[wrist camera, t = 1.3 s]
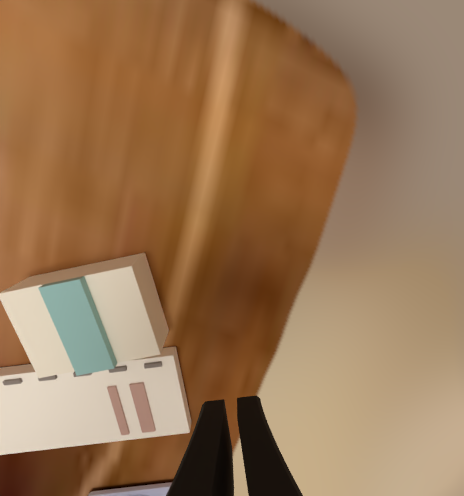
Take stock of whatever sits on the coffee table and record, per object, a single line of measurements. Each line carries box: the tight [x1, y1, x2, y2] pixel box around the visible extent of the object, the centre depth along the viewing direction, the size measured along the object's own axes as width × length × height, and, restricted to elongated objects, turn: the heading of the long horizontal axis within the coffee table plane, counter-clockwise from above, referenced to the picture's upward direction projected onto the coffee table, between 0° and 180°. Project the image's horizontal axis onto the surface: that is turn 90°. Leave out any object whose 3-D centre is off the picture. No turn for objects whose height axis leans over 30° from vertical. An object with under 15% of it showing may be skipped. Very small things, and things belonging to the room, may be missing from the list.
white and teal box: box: [0, 253, 169, 378], centre depth 17 cm, size 6×8×4 cm
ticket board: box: [0, 347, 191, 455], centre depth 20 cm, size 7×18×1 cm, turn 97°
